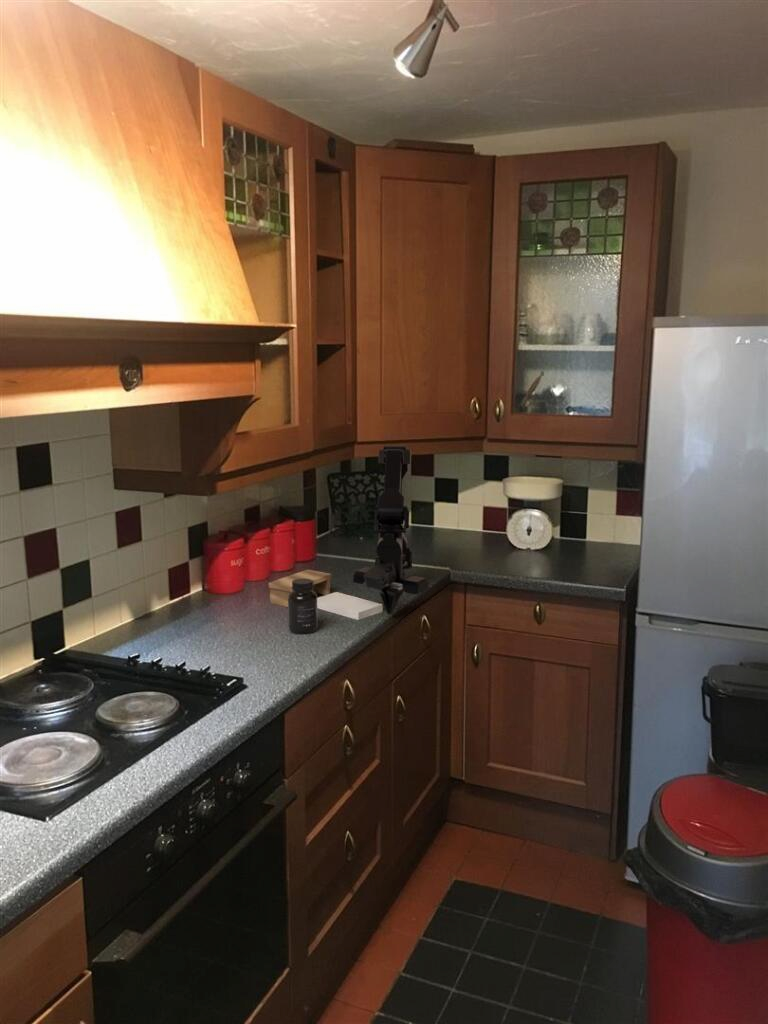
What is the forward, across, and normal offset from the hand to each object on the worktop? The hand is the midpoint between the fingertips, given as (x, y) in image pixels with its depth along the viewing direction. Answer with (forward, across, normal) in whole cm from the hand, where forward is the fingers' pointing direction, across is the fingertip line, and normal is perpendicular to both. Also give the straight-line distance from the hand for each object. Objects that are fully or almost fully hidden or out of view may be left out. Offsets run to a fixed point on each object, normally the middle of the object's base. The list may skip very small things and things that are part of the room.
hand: (389, 614), depth 212 cm
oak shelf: (+1, -28, 0) cm, 28 cm away
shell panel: (+2, -13, 0) cm, 13 cm away
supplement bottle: (+1, -12, -19) cm, 23 cm away
